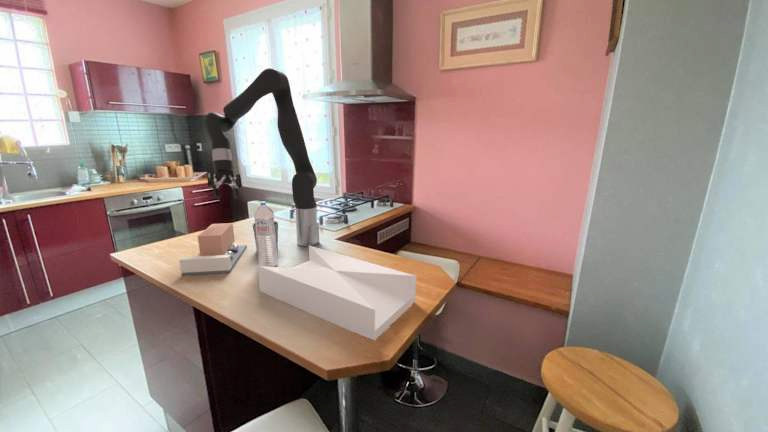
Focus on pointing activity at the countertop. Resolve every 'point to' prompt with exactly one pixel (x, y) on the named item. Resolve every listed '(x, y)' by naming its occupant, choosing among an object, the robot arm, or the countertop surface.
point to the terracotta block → (216, 239)
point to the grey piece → (210, 263)
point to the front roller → (226, 253)
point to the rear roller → (233, 247)
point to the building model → (342, 290)
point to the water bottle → (265, 236)
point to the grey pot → (275, 233)
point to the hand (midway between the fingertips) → (226, 197)
